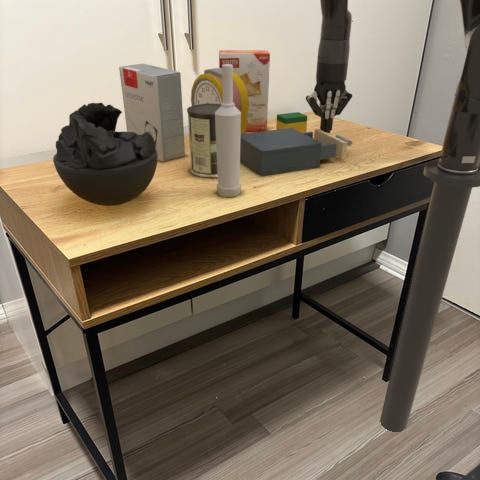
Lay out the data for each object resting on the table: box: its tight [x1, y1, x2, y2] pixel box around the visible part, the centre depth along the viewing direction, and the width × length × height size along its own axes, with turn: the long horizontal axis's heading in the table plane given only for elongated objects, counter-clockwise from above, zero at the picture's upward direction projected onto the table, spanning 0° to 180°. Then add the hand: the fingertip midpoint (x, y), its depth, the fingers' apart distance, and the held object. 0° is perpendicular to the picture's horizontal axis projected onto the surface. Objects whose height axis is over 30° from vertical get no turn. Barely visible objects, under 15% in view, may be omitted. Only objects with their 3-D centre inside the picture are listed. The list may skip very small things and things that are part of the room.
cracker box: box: [218, 49, 271, 132], centre depth 145 cm, size 14×6×21 cm, turn 92°
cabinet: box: [240, 128, 322, 177], centre depth 125 cm, size 16×15×6 cm
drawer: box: [303, 128, 353, 161], centre depth 128 cm, size 19×14×4 cm
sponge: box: [275, 111, 308, 133], centre depth 143 cm, size 7×5×6 cm
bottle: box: [215, 64, 242, 198], centre depth 102 cm, size 5×5×25 cm
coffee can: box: [186, 104, 221, 178], centre depth 117 cm, size 10×10×14 cm
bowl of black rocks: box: [52, 102, 158, 207], centre depth 100 cm, size 20×20×19 cm
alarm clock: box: [190, 67, 249, 134], centre depth 136 cm, size 15×8×18 cm, turn 42°
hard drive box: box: [118, 63, 186, 163], centre depth 127 cm, size 16×8×20 cm, turn 44°
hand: (325, 132), depth 134 cm, fingers closed
